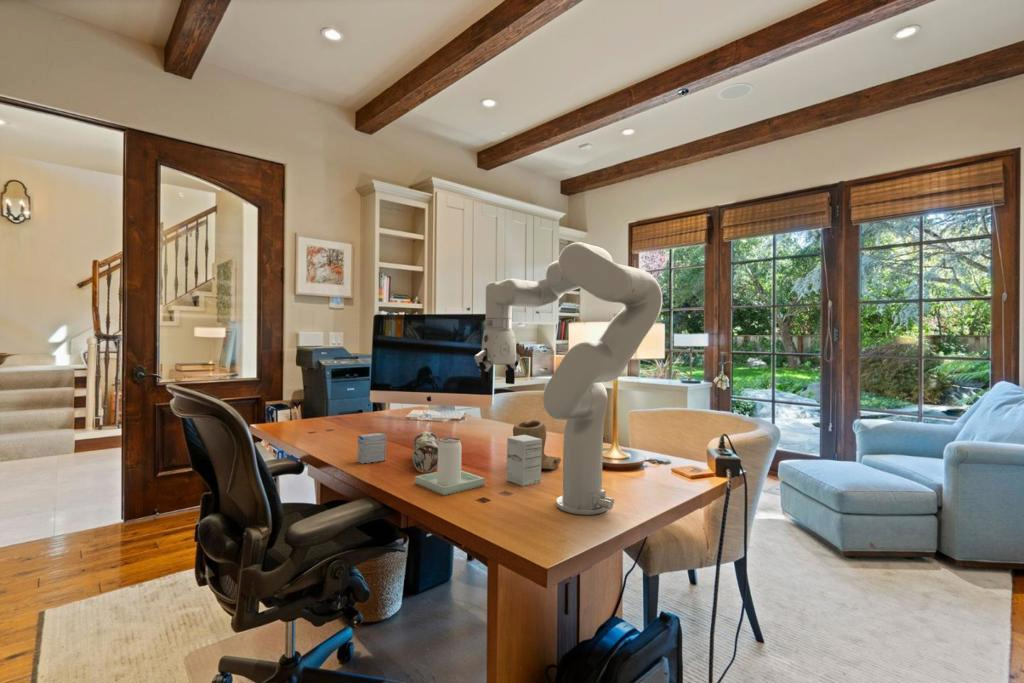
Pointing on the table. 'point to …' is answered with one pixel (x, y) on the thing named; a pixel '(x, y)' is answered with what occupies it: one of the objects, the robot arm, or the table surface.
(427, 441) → the pencil case
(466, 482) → the tray
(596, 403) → the robot arm
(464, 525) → the table surface
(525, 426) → the brown boot
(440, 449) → the can
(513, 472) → the supplement box
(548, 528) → the table surface
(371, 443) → the medicine box
